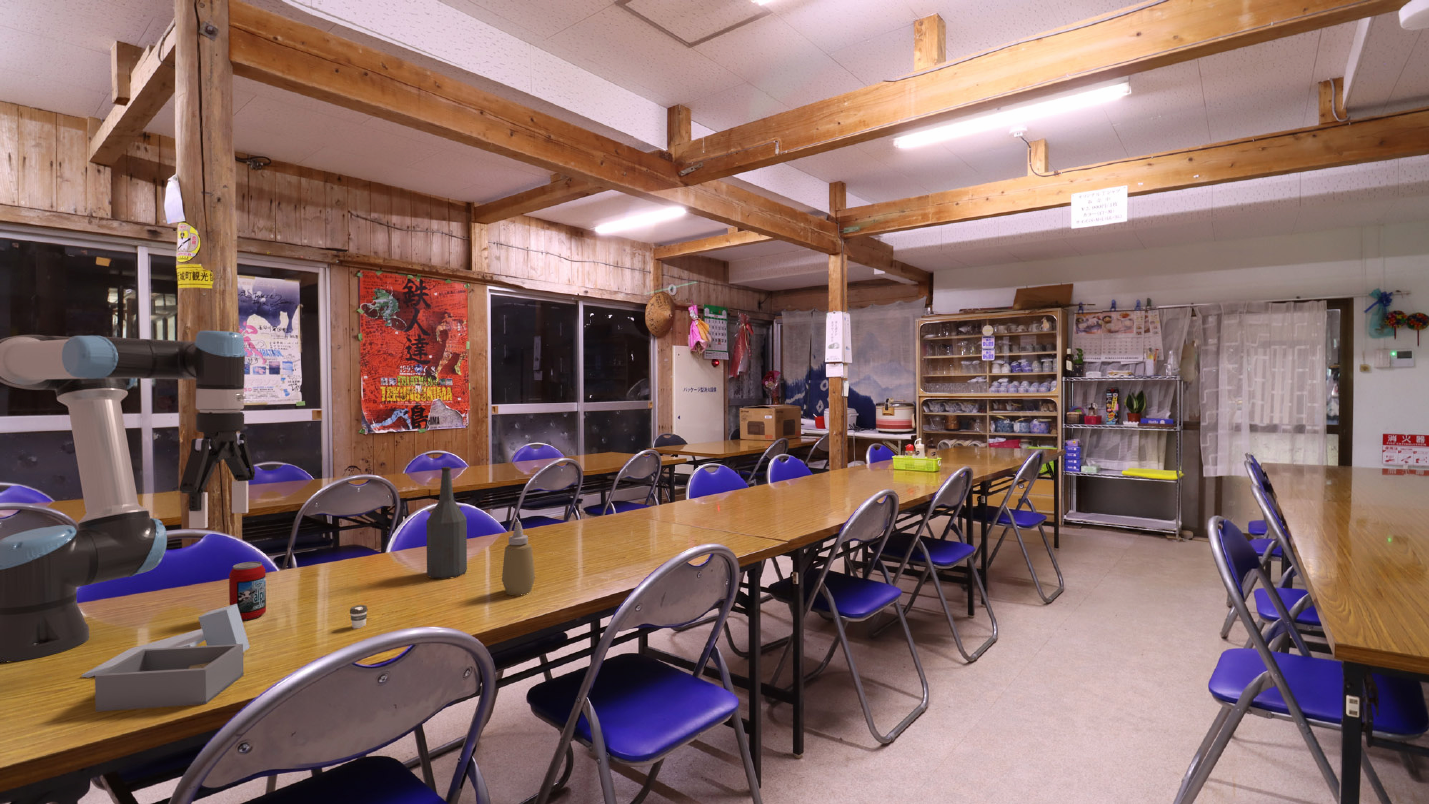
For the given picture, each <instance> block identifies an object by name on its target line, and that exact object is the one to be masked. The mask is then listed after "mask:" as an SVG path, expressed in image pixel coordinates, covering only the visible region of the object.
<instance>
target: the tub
mask: <svg viewBox="0 0 1429 804" xmlns="http://www.w3.org/2000/svg"><path fill="white" fill-rule="evenodd" d="M205 663H210V664H208V665H207V666H206V667H204V668H195V669H189V667H190V666H193V665H199V664H205ZM244 674H245V672H244V652H243V644H231V645H212V646H207V645H196V646H193V647H174V648H154V649H143V650H141V651H139V652H137V653H136V654H134V655H132V656H130V657H128V658H127V659H125V660H123V661H121V662H119V663H118V664H116V665H114V666H112V667H110V668H109V669H107V670H105V671H103V672H102V673H100V674H98V675H96V676H94V691H95V693H94V695H95V697H94V698H95V712H107V711H108V712H110V711H123V710H135V709H136V710H139V709H150V708H165V707H166V708H168V707H181V706H195V705H197V706H198V705H206V704H208V703H210V702H211V701H212V700H213V699H215V698H216V697H217V696H219V695H220V694H222V693H223V692H224V691H225V690H226V689H227V688H229V687H230V686H231V685H233V684H234V683H235V682H236V681H238V680H239V679H241V678H242V677H243V676H244Z"/></svg>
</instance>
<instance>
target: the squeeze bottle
mask: <svg viewBox="0 0 1429 804" xmlns="http://www.w3.org/2000/svg"><path fill="white" fill-rule="evenodd" d="M522 526H523V525H522V523H521V521H516V522H515V524H514V529H513V533H512V535H510V536H508V545H506V546H505V548H504V556H503V565H502V573H501V575H502V576H501V581H502V584H503V587H504V590H505V593H506V595H508V594H509V595H508V596H511V595H519V596H522V595H521V594H525V595H528V594H529V592H530V591H531V592H532V588H533V585H534V582H535V579H536V574H535V565H534V564H535V563H534V556H533V547H532V545H531V543H529V536H528V535H526V534H524V530H523V527H522ZM531 592H530V593H531ZM527 593H528V594H527Z"/></svg>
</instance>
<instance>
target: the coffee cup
mask: <svg viewBox="0 0 1429 804" xmlns="http://www.w3.org/2000/svg"><path fill="white" fill-rule="evenodd" d="M368 611H369V609H368V607H367V604H366V605H365V604H359V605H353V606H352V607H350V609H349V614H350V620H351V627H352V628H353V629H356V628H357V629H361V627H363V626H365V627H366V623H367V617H368V614H367V613H368ZM363 628H364V627H363ZM357 629H356V630H357Z"/></svg>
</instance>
